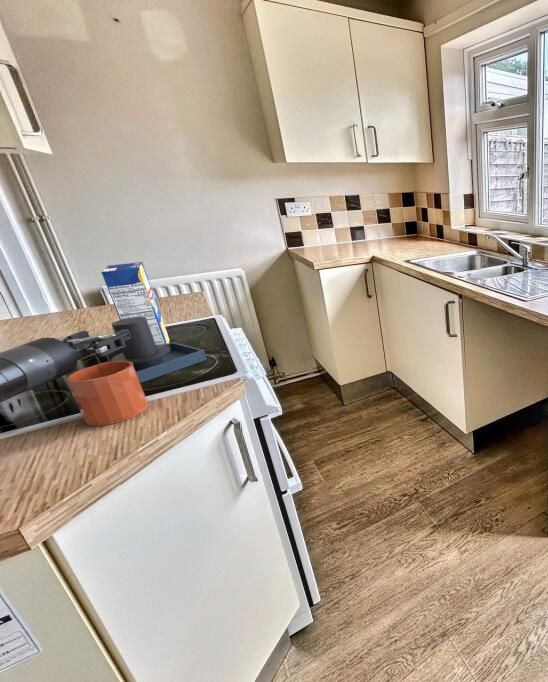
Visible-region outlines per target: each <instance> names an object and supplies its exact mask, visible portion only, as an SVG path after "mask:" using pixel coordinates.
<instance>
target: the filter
mask: <svg viewBox="0 0 548 682" xmlns="http://www.w3.org/2000/svg"><path fill="white" fill-rule="evenodd" d="M111 327H112V330H113V333H116V332H118V331H120V330H123V329H128V330H129V331H130V334H131V339H129V340H127V341H124V342H125V344H126V347H124V348H121V349H120V350H121V353H119V354H116V355H115V356H113V357H112V358H111V360H110V361H112V362H114V361H130V362H132V363H133V365H134V368H135V370H136V372H137V371H140V370H143V369H146V368H149V367H152V366H155V365H158V364H161V363H163V360H162V356H164V355H166V354H168V353H169V352H170V347H169V346H165V345H156V344H155V341H154V339H153V336H152V333H151V330H150V328H149V325H148V322H147V319H146V318H145V317H133V318H127V319H122V320H120V319H118V320H116V321H113V322H111Z"/></svg>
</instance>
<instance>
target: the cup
mask: <svg viewBox="0 0 548 682" xmlns="http://www.w3.org/2000/svg"><path fill="white" fill-rule="evenodd" d="M106 362H107V361H106ZM101 363H102V364H101ZM101 363H98V364H93V365H91V366H87V367H84V368H81V369H78V370H79V371H77V370H76V371H74V372H72V373H71V374H69V375H68V376H66V377H65V378H66V379H65V382H66V383H67V386H68V388H69V390H70V392H71V395H72V397H73V399H74V401H75V403H76V405H77V408H78V410H79V412H80V414H81V417H82V418H83V420H84V422H85V423H86V425H88V426H90V427H104V426H110V425H114V424H118V423H122V422H124V421H127V420H131V419H132V418H134V417H137V416H138V415H141V414H142V413H144V412H146V410H147V409H148V408H149V402H148V399H147V396H146V393H145V391H144V388H143V386H142V383H140V381H139V378H138V375H137V373H136V370H135V368H134V365H133V363H132V362H130V361H114V362H107V363H104V362H101Z"/></svg>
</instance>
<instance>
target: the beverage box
mask: <svg viewBox="0 0 548 682" xmlns="http://www.w3.org/2000/svg"><path fill="white" fill-rule="evenodd" d="M100 273H101V275H102V278H103V280H104V283H105V285H106V288H107V291H108V293H109V295H110V298H111V301H112V303H113V307H114V308H115V311H116V314H117V316H118V320H122V319H127V318H133V317H145V318H146V319H147V322H148V325H149V328H150V330H151V333H152V336H153V339H154V341H155V344H156V345H164V344H167V343H171V342H170V337H169V335H168V330H167V328H166V325H165V322H164V319H163V317H162V314H161V310H160V308H159V306H158V302H157V300H156V297H155V294H154V291H153V289H152V286H151V283H150V279H149V276H148V274H147V270H146V268H145V265H144V262H143V261H139V262H129V263H119V264H110V265H107V266H106V267H105V268H104V269H103V270H101V272H100Z"/></svg>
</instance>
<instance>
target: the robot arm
mask: <svg viewBox="0 0 548 682" xmlns="http://www.w3.org/2000/svg"><path fill="white" fill-rule="evenodd" d="M129 339H131V334H130V331H129V330H128V329H123V330H120V331H118V332H116V333H115V332H113V333H110V334H107V335H103V336H99V335H91V336H90V334H89V332H88V331H87V330H80V331H78V332H75V333H72V334H70V335H62V336H60V337H58V338H56V337H39V338H37V339H33V340H32V341H29V342H26V343H23V344H20V345H18V346H14V347H13V348H9V349H6V350H4V351H1V352H0V404H1V403H3V402H6V401H8V400H10V399H12V398H14V397H16V396H19V395H21V394H23V393H27V392H30V391H32V390H35V389H37V388H40V387H42V386H44V385H47V384H48V383H50V382H53V381H55V380H57V379H59V378H61V377H64V376H65V375H68V374H70V373H71V372H73V371H74V370H75V369H76V367H77V364H78V361H81V360H85V359H87V358H89V357H92V356H96V358H103V357H105V356H107V355H110V354H112V353H114V352H117V351H119V350H121V348H124V347H126V344H125V342H124V341H127V340H129ZM91 341H95V343H92V342H91Z"/></svg>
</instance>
